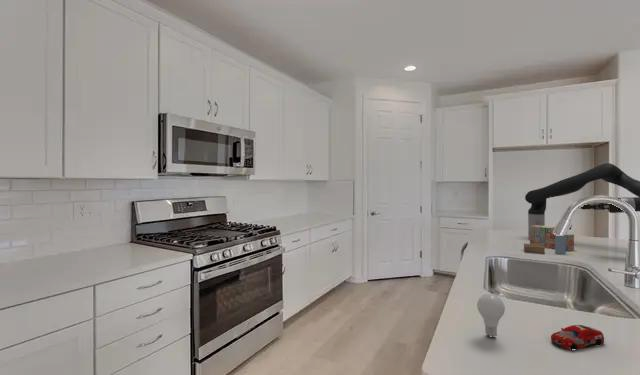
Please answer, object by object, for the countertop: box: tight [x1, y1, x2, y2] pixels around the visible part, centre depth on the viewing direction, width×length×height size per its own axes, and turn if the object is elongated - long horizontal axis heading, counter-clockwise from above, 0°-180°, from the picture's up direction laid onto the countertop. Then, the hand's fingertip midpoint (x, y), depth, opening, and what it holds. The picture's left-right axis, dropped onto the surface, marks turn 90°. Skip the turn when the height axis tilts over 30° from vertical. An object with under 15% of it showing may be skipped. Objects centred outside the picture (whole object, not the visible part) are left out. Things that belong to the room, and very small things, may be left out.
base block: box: [523, 242, 546, 255], centre depth 181 cm, size 9×9×4 cm
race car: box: [550, 324, 605, 351], centre depth 80 cm, size 13×5×4 cm, turn 103°
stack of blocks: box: [529, 225, 575, 252], centre depth 191 cm, size 21×6×12 cm, turn 25°
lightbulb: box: [476, 293, 506, 337], centre depth 84 cm, size 6×6×11 cm
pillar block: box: [554, 235, 567, 256], centre depth 176 cm, size 4×4×12 cm
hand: (580, 206), depth 171 cm, fingers open, 8 cm apart
